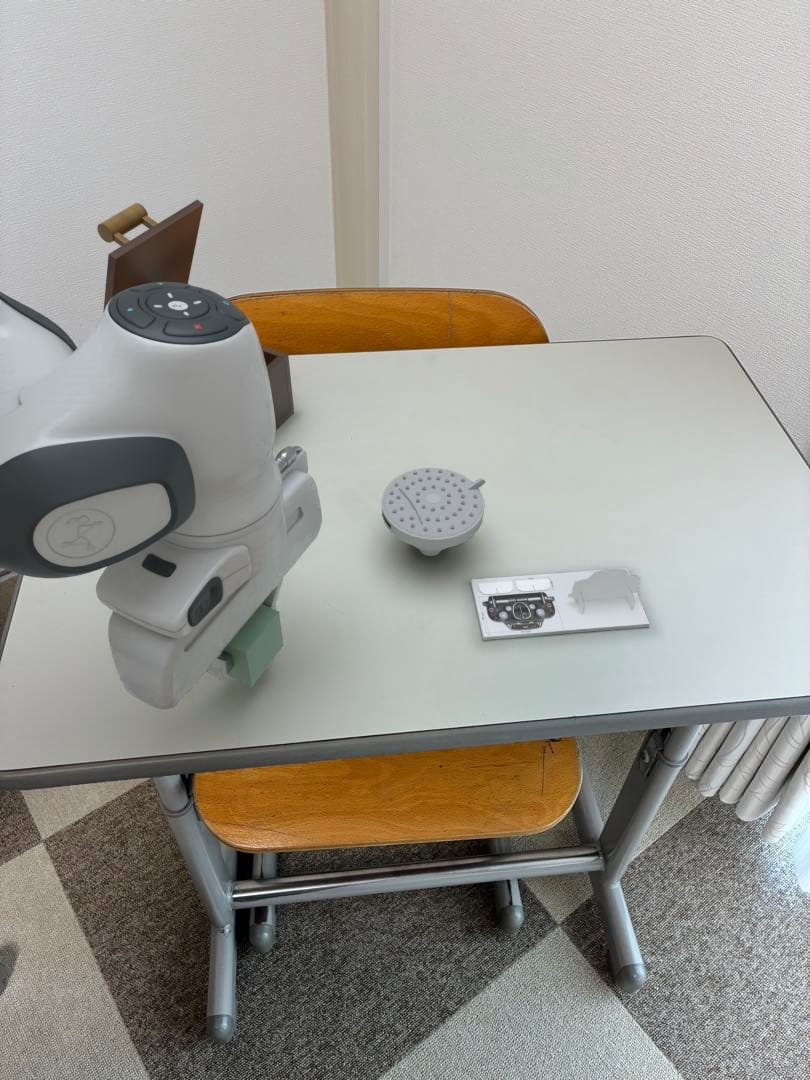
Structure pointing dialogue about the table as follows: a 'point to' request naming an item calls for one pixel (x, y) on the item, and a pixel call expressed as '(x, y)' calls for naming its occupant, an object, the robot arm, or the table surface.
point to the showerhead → (433, 508)
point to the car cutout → (558, 603)
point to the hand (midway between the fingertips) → (242, 643)
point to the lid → (150, 248)
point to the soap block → (255, 645)
